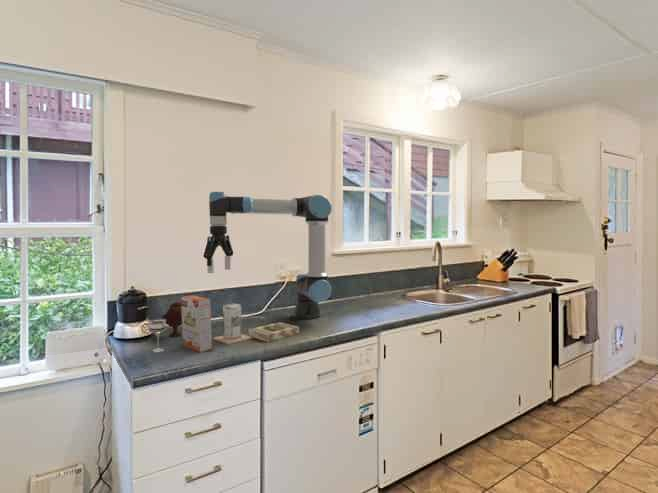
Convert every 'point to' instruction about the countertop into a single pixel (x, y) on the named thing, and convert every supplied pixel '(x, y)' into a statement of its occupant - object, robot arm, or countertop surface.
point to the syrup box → (232, 321)
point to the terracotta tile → (232, 341)
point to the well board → (273, 331)
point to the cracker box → (196, 323)
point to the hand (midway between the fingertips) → (219, 271)
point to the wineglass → (157, 330)
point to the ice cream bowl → (174, 318)
